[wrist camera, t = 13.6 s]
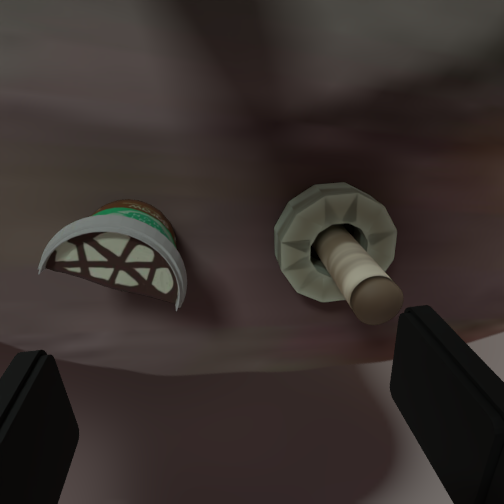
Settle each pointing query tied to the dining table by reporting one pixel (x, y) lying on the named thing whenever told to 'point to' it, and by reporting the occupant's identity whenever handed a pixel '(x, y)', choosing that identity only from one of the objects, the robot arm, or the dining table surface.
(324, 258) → the peg
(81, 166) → the dining table surface
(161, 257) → the food container
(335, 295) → the bead
